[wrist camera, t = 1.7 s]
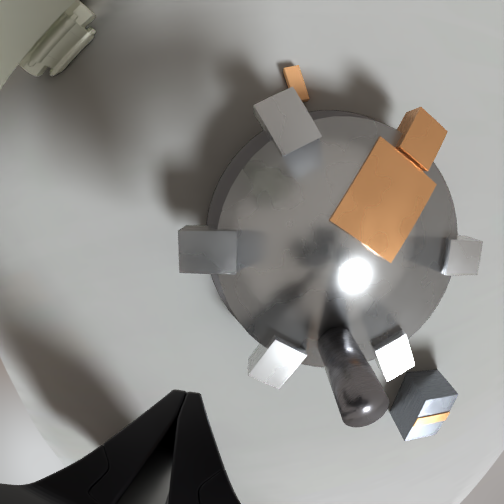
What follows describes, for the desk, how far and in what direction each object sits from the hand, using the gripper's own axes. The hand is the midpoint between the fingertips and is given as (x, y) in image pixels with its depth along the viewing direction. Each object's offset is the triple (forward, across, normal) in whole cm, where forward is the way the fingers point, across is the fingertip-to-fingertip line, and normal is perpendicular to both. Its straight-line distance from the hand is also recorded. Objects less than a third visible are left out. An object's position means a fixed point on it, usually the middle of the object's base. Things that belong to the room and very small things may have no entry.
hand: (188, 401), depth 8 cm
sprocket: (+7, -6, -4) cm, 10 cm away
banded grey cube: (+9, -15, +7) cm, 19 cm away
